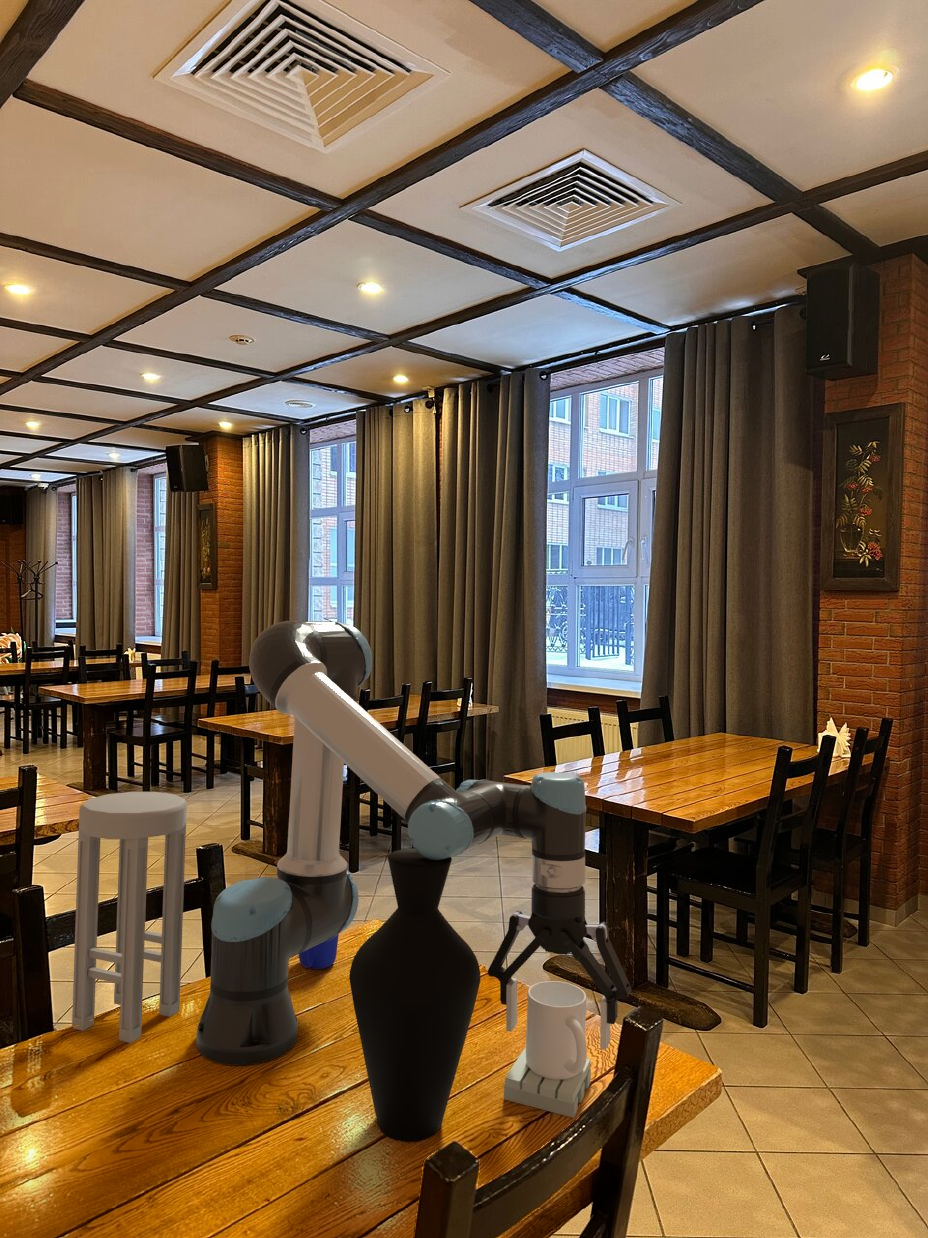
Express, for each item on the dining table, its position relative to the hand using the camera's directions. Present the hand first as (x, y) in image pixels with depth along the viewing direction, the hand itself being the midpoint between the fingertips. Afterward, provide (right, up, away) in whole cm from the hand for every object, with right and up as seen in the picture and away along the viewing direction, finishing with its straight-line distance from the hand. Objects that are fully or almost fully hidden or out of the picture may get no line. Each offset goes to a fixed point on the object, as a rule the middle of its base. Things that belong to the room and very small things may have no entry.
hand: (557, 1036), depth 119 cm
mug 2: (0, -5, 0) cm, 5 cm away
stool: (-67, -6, +16) cm, 69 cm away
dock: (-1, -8, +1) cm, 8 cm away
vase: (-20, -8, -8) cm, 23 cm away
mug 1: (-41, -6, +38) cm, 56 cm away
